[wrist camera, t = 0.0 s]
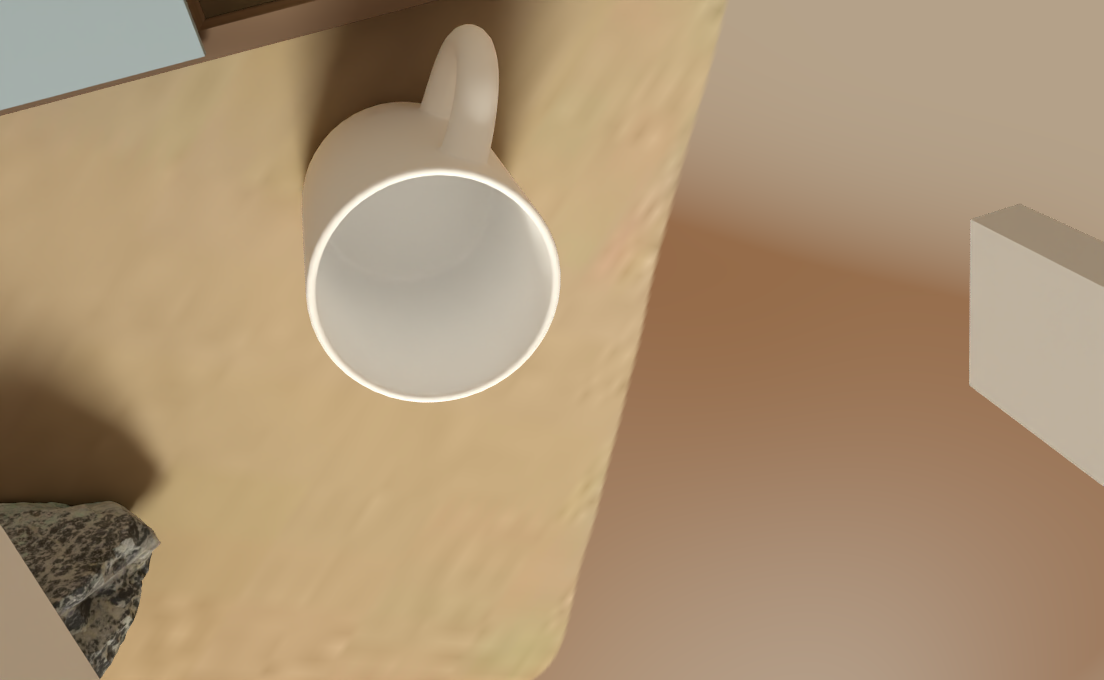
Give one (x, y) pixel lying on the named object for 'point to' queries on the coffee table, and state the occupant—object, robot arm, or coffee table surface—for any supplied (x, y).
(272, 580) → the coffee table surface
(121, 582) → the stone
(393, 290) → the mug
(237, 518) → the coffee table surface
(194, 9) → the brown wooden frame
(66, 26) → the lid
